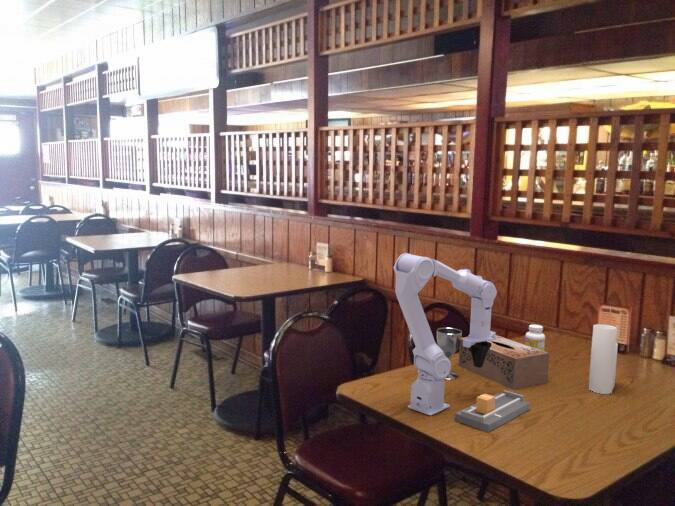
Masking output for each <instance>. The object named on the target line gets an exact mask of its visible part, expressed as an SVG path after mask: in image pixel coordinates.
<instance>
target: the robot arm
mask: <svg viewBox="0 0 675 506" xmlns="http://www.w3.org/2000/svg"><path fill="white" fill-rule="evenodd" d="M393 272H394V273H395V296H396V299H397V301H398V303H399V307H400V309H401V312H402V314H403V317H404V319H405V322H406V324H407V328H408V330H409V332H410V335H411V339H412V341H413V344H414V345H415V347H414V348H413V349H412V353H413V364H414V366H415V369H417V374H418V376H417V379H416V380H415V381H414V382H412V384H411V386H410V400H409V401H410V404H409V405H407V408H408V409H411V410H413V411H416V412H419V413H422V414H425V415H428V416H433V415H435V414H437V413H439V412H443V411H444V410H446V409H448V408H450V406H451V405H450V404H449V403H448V404H447V403H445V385H446V383H445V380H447V379H446V377H447V376H448V374H449V373H450V372H451V369H452V362H451V359H450V360H449V359H448V358H447V357H446V356H445V355H444V352H443V351H442V350H441V348H440V347H439V346H438V343H437V342H436V341H435V338H434V335H433V333H432V329H431V327H430V325H429V321H428V318H427V316H426V313H425V311H424V308H423V306H422V303H421V300H420V297H419V295H418V294H419V292H420V291H421V290H423V288H424V287H425V286H426V285H427V283H428V282H429V280H430V279H431V278H432V277H436V276H438V277H439V278H442V279H444V280H447V281H450V282H451V285H452V288H453V289H455V290H458V291H460V292H462V293H464V294H466V295H468V297H469V298H471V300H470V320H469V321H470V322H469V323H470V325H469V334H468V336H466V337H467V338H466V339H464V340H463V346H464V347H468V348H469V349H470V352H471V354H472V358H473V363H474V366H475V367H479V368H481V367H482V366H483V364H484V360H485V357H486V354H487V352H488V350H489V349H490V347H491V343H490V342H487V341H493V339H495V335H497V334H496V331H492V330H491V327H492V326H491V325H492V324H491V323H492V322H491V321H492V307H493V305H494V300H495V299H496V297H497V294H498V290H497V289H496V286H495V285H494V283H493V282H491V281H488V280H486V279H483V277H482V276H481V275H475V274H473V273H472V271H471V269H468V268H464V269H458V270H456V269H453V268H452V267H450V266H448V265H446V264H444V263H442V262H441V261H439V260H436V259H433V258H430V257H427V256H420V255H415V254H411V253H410V252H409V253H408V252H405V253H402V254H400V255H399V256H398V258H397V259H396V261H395V263H394V265H393Z"/></svg>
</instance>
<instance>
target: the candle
mask: <svg viewBox="0 0 675 506" xmlns="http://www.w3.org/2000/svg"><path fill="white" fill-rule="evenodd" d="M617 335H618V327H616V326H614V325H609V324H604V323H603V324H602V323H601V324H600V323H599V324H598V323H597V324H593V327H592V337H591V351H590V364H589V375H588V376H589V377H588V390H589V391H590V390H591V391H590V392H592V391H593V393H595V392H596V393H595V394H599V393H600V394H599V395H611V394H613V389H614V388H615V384H616V383H615V382H616V373H617V362H618V361H617V359H618V358H617V357H618V346H619V344H618V342H617V337H618V336H617ZM610 393H611V394H610Z"/></svg>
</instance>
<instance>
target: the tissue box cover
mask: <svg viewBox="0 0 675 506" xmlns="http://www.w3.org/2000/svg"><path fill="white" fill-rule="evenodd" d="M467 337H468V336H465V337H462V338H461V344H460V347H459V349H458V350H459V351H458V352H459V354H458V366H459V367H461V368H463V369H466V370H467V371H471V372H472V373H475V374H477V375H480V376H482V377H483V378H486V379H489V380H491V381H493V382H495V383H498V384H500V385H502V386H505V387H506V388H510V389H511V390H519V389H525V388H529V387H533V386H539V385H544V384H547V383H548V381H549V380H548V379H549V378H548V377H549V376H548V375H549V363H550V352H547V351H545V350H544V351H542V350H539V349H536V348H533V347H530V346H527V345H525V343H524V344H523V343H522V342H518V341H515V340H512V339H509V338H506V337H504V336H500V335H497V334H495V339H493V341H487V342H490V343H491V347H490V349H489V350H488V352H487V354H486V357H485V360H484V364H483V366H482V367H481V368H479V367H475V366H474V363H473V358H472V354H471V352H470V349H469V348H468V347H464V346H463V340H464V339H466V338H467ZM543 383H544V384H543Z"/></svg>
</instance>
